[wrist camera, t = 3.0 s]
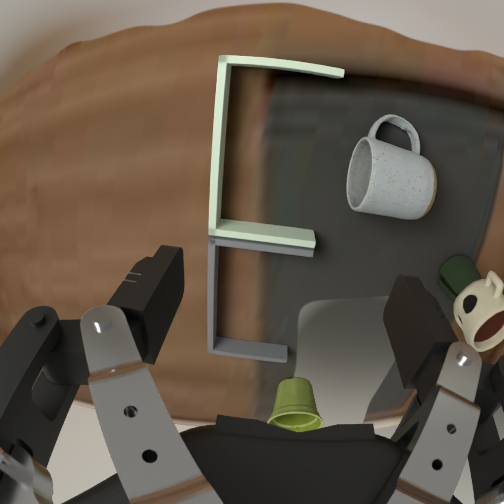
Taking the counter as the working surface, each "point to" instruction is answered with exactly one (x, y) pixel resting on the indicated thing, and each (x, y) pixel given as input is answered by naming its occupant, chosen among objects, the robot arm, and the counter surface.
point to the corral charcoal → (214, 342)
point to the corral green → (218, 149)
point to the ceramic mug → (390, 176)
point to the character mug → (475, 302)
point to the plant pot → (295, 406)
